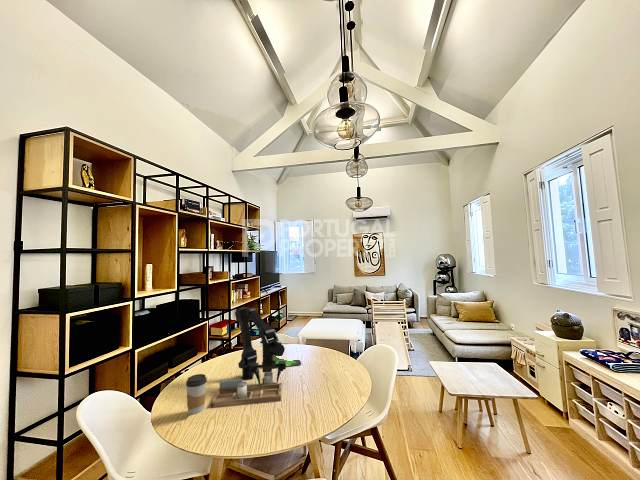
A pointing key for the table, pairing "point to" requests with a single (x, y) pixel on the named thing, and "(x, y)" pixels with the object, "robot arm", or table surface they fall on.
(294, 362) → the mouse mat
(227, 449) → the table surface
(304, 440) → the table surface
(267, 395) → the tray
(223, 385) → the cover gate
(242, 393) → the pin
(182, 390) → the table surface
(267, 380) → the grey pin
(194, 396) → the coffee cup
